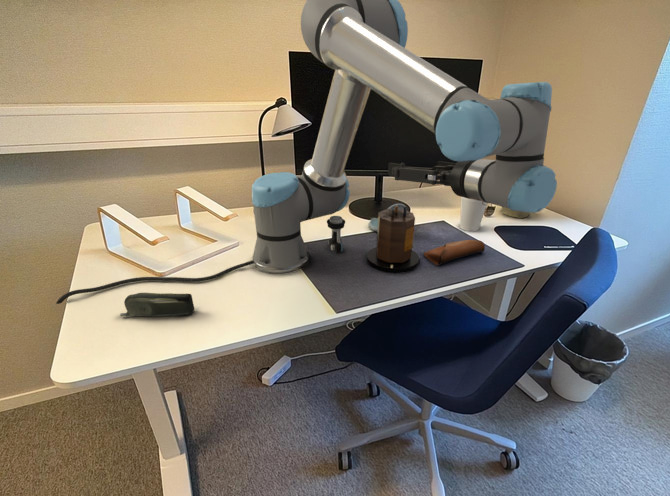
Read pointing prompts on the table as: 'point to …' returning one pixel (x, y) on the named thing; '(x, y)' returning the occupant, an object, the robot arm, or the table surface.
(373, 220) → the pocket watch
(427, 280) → the table surface
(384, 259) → the pen carousel
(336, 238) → the push button
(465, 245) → the sunglasses case
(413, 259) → the base
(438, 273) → the table surface
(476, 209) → the foam cup
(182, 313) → the dark green rounded block
